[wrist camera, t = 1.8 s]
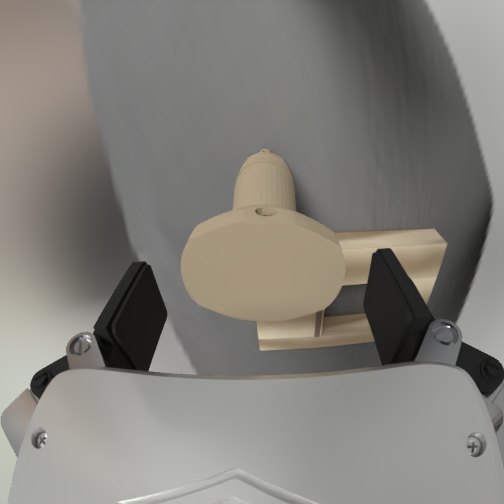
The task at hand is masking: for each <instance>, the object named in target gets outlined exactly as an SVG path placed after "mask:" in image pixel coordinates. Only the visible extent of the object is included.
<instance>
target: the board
mask: <svg viewBox="0 0 504 504" xmlns="http://www.w3.org/2000/svg"><path fill="white" fill-rule="evenodd" d="M334 234H335V236H336V238H337V240H338V242H339V244H340V247H341V249H342V252H343V255H344V258H345V265H346V272H345V278H344V282H343V285H355V284H367V281H368V276H369V270H370V264H371V258H372V254H373V253H374V252H376V250H377V249H382V248H391V249H392V251H393V252H394V254H395V256H396V257H397V259H398V260H399V262H400V263H401V265H402V267H403V268H404V270H405V271H406V273H407V275H408V276H409V278H411V279H412V281H413V282H414V284H415V286H416V287H417V289H418V291H419V293H420V294H421V296H422V298H423V300H424V301H425V303H426V305H427V302H428V300H429V297H430V295H431V292H432V289H433V287H434V284H435V281H436V278H437V275H438V272H439V269H440V266H441V263H442V260H443V257H444V254H445V250H446V247H447V243H446V241H445V240H444V239H443V238H442V237H441V236H440V235H439V233H438V232H437V231H436V230H435V229H414V230H386V231H361V232H339V233H334ZM256 322H257V330H258V338H259V346H260V350H284V349H302V348H316V347H328V346H339V345H349V344H358V343H366V342H374V337H373V334H372V331H371V328H370V325H369V322H368V319H367V317H366V314H365V313H362V314H352V315H341V316H329V317H324V310H321V311H318V312H315V313H312V314H308V315H305V316H301V317H298V318H294V319H289V320H284V321H257V320H256Z"/></svg>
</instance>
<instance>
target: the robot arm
mask: <svg viewBox="0 0 504 504" xmlns="http://www.w3.org/2000/svg"><path fill="white" fill-rule="evenodd" d="M363 306H364V311H365V314H366V317H367V319H368V322H369V325H370V328H371V331H372V334H373V337H374V341H375V344H376V347H377V350H378V353H379V356H380V360H381V363H382V366H374V367H367V368H358V369H350V370H341V371H332V372H321V373H308V374H292V375H269V376H212V375H188V374H173V373H160V372H150V371H148V370H149V367H150V364H151V361H152V358H153V356H154V352H155V350H156V346H157V344H158V341H159V338H160V335H161V332H162V330H163V327H164V324H165V321H166V319H167V310H166V307H165V304H164V302H163V299H162V296H161V294H160V291H159V288H158V286H157V283H156V280H155V277H154V274H153V271H152V268H151V266H150V265H147V263H146V262H133V263H132V264H131V265H130V267H129V268H128V270H127V272H126V273H125V275H124V276H123V278H122V280H121V281H120V283H119V284H118V286H117V288H116V289H115V291H114V293H113V294H112V296H111V298H110V300H109V301H108V303H107V304H106V306H105V308H104V309H103V311H102V313H101V315H100V316H99V318H98V320H97V322H96V324H95V325H94V329H95V331H94V333H93V334H92V333H90V332H82V333H79V334H77V335H75V336H74V337H73V338H72V339H71V340H70V341H69V343H68V345H67V347H66V353H67V355H66V356H64V357H62V358H61V359H59V360H57V361H55V362H53V363H52V364H50V365H48V366H47V367H45V368H43V369H41V370H40V371H38V372H37V373H36V374H35V375H34V376H33V378H32V380H31V384H30V387H31V389H30V390H29V389H28V388H27V389H26V390H25V391H24V392H23V393H22V394H21V395H20V396H19V397H18V398H17V399H15V401H13V403H11V405H10V406H9V407H7V408H6V410H5V411H4V412H3V413H2V416H1V425H2V428H3V430H4V432H5V434H6V436H7V438H8V440H9V442H10V444H11V446H12V448H13V450H14V452H15V454H16V456H17V461H16V465H15V469H14V473H13V478H12V482H11V487H10V493H9V498H8V504H504V369H503V367H502V364H501V363H500V362H499V361H498V360H497V359H495V358H494V357H491V356H490V355H488V354H486V353H484V352H481V351H479V350H478V349H476V348H474V347H472V346H470V345H468V344H466V343H464V342H462V333H461V330H460V329H459V327H458V326H457V325H456V324H455V323H453V322H451V321H449V320H446V319H438V320H434V318H433V316H432V314H431V312H430V310H429V309H428V307H427V305H426V303H425V301H424V300H423V298H422V296H421V294H420V293H419V291H418V289H417V287H416V286H415V284H414V282H413V281H412V279H411V278H409V276H408V275H407V273H406V271H405V270H404V268H403V267H402V265H401V263H400V262H399V260H398V259H397V257H396V256H395V254H394V252H393V251H392V249H391V248H382V249H377V250H376V252H374V253H373V254H372V258H371V264H370V270H369V276H368V281H367V287H366V292H365V297H364V302H363Z"/></svg>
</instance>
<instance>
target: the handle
mask: <svg viewBox="0 0 504 504" xmlns="http://www.w3.org/2000/svg"><path fill="white" fill-rule="evenodd" d="M345 272H346V265H345V258H344V255H343V252H342V249H341V247H340V244H339V242H338V240H337V238H336V236H335V234H334V232H333V231H332V230H331V229H329V228H328V227H326V226H324V225H323V224H321V223H319V222H317V221H315V220H314V219H312V218H309V217H307V216H305V215H303V214H301V213H298V212H296V198H295V186H294V181H293V178H292V175H291V172H290V170H289V168H288V167H287V165H286V163H285V162H284V160H283V158H282V157H279V156H277V155H276V154H274V153H272V152H271V151H270V150H269V149H262V150H261V151H260V152H259V153H256V154H254V155H252V156H249V157H248V158H247V160H246V162H245V163H244V164H243V166H242V168H241V169H240V171H239V174H238V176H237V180H236V184H235V191H234V201H233V209H232V210H231V211H228V212H225V213H223V214H220V215H217V216H215V217H213V218H211V219H209V220H206V221H204V222H202V223H200V224H198V225H197V226H196V227H195V229H194V231H193V232H192V234H191V235H190V237H189V239H188V242H187V244H186V246H185V249H184V251H183V253H182V258H181V275H182V279H183V282H184V285H185V287H186V289H187V291H188V293H189V294H190V296H191V297H192V298H193V300H194V301H195V302H196V303H197V304H198V305H201V306H203V307H205V308H208V309H210V310H213V311H215V312H218V313H221V314H224V315H226V316H230V317H233V318H237V319H244V320H257V321H284V320H289V319H294V318H298V317H301V316H305V315H308V314H312V313H315V312H318V311H321V310H324V309H325V308H326V307H327V306H329V305H330V304H331V303H332V302H333V301H334V299H335V298H336V297H337V295H338V293H339V292H340V290H341V287H342V285H343V282H344V278H345Z"/></svg>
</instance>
